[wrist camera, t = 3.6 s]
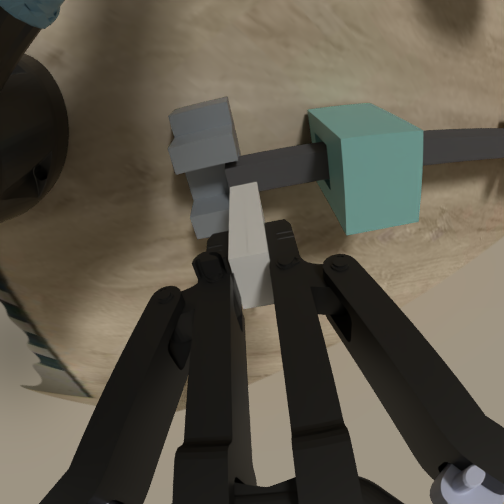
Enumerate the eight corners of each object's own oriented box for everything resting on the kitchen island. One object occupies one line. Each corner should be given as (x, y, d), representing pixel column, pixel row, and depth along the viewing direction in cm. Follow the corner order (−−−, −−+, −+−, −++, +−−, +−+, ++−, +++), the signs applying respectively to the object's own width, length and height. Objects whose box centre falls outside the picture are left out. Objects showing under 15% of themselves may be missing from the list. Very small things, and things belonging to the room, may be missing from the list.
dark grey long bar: (235, 192, 24) (235, 221, 21) (221, 138, 22) (219, 158, 18) (542, 152, 22) (568, 170, 18) (546, 116, 19) (574, 130, 16)
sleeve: (316, 181, 25) (346, 235, 18) (307, 109, 21) (340, 138, 15) (373, 172, 25) (418, 221, 18) (369, 102, 21) (423, 130, 15)
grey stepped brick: (207, 221, 27) (203, 257, 23) (174, 109, 21) (160, 124, 17) (253, 212, 27) (257, 246, 23) (227, 96, 21) (226, 107, 17)
